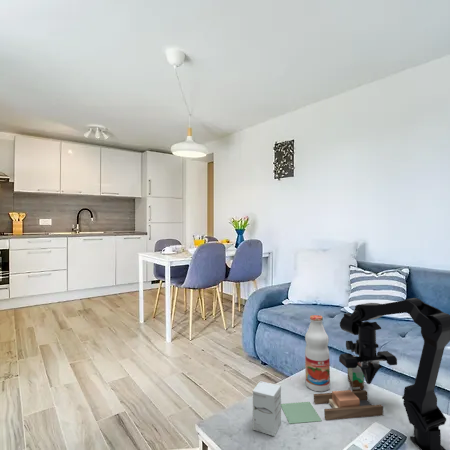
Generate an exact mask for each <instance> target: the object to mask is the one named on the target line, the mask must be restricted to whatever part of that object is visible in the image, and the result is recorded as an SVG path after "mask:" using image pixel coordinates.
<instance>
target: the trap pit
mask: <svg viewBox="0 0 450 450" xmlns="http://www.w3.org/2000/svg"><path fill="white" fill-rule="evenodd" d="M367 405H373V404H372V403H371V402H370V401H369V400H361V401H360V406H367Z"/></svg>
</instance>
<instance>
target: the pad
mask: <svg viewBox="0 0 450 450" xmlns="http://www.w3.org/2000/svg"><path fill="white" fill-rule="evenodd" d="M281 410H282V411H283V413H284V415H285V418H286V420H287V422H288V424H289V425H293V424H295V425H296V424H305V423H315V422H322V421H323V420H322V418H321V417H320V415H319V414H318V413H317V411H316V409H315V407H314V406H313V405H312V403H311V401H300V402H299V401H298V402H288V403H281Z"/></svg>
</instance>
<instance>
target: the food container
mask: <svg viewBox="0 0 450 450" xmlns="http://www.w3.org/2000/svg"><path fill="white" fill-rule="evenodd" d="M351 355H352V356H354V357H358V355H353V354H351ZM346 371H347V380H348V383H349V386H350V388H351V389H350V390H351V391H361V390H364V387H365V384H364V383H365V377H364V375H363V372H362V370H361V368H360V367H359V366H357V367H356V368H346Z"/></svg>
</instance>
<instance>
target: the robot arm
mask: <svg viewBox="0 0 450 450" xmlns="http://www.w3.org/2000/svg"><path fill="white" fill-rule="evenodd" d="M396 314H397V315H398V314H408V315H409V316H410V317H411V319H412V320H413V323H414V324H416V325H417V326H418V327H420V334H421V337H422V339H423V346H422V350H421V355H420V360H419V363H418V367H417V372H416V375H415V376H416V377H415V380H414V383H413V384H410V385H407V386H404V391H403V395H402V397H401V399H402V400H403V401H402V403H403V407H404V409H405V412H406V416H407V418H408V419H407V420H408V422H409V424H411V425H412V426H413V436H409V440H410V441H411V442H412V443H414V445H415V446H416V447H418V448H419V449H420V450H447V449H446V448H445V447H444V446H442V443H441V442H442V441H441V438H442V437H441V429H440V427H441V426H445V424H446V422H447V417H446V416H445V415H444V413H443V412H442V411H441V409H440V408H439V406H438V397H437V395H436V393H435V388H436V384H437V379H438V375H439V371H440V368H441V363H442V360H443V359H442V358H443V354H444V351H445V349H446V348H445V347H446V346H447V345H448V344H449V342H450V314H449V313H447V312H444V311H442V310H441V309H439V308H437V307H435V306H432V305H431V304H428V303H425V302H424V301H423V300H422V299H420V298H416V297H413V298H406V299H403V300H399V301H394V302H385V303H379V302H368V303H361V304H356V305H355V306H354V311H353V312H352V313H349V312H346V313H343V316H342V318H341V319H340V321H339V327H340V330H342V331H344V332H346V333H349V334H351V335H354V336H357V337H358V338H357V339H356V340H355V342H353V340H346V341H345V348H346V350H347V351H350V352H351V353H354V354H355V355H356V356H357V357H354V356H355V355H354V356H352V355H353V354H351V353H341V354H340V355H339V356H338V361H339V363H340V364H342V365H343V366H344V367H345V368H346V369H347V368H356V367H357V366H359V367H360V368H361V370H362V372H363V375H364V381H365V383H366V384H368V385H371V383H372V382H373V380H374V378H375V377H376V375H377V373H378V372H379V370H380V369H382V368H383V366H382V365H381V364H380V362H386V364H388V366H397V365H398V358H397V357H396V355H394V354H393V353H391V352H389V351H388V350H381V351H377V349H378V348H379V347H380V346H379V344H378V343H377V331H379V330H382V326H381V325H380V324H378V322H377V321H373V320H377V319H379V318H382V317H384V316H387V315H388V316H389V315H396ZM371 321H372V322H371Z"/></svg>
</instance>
